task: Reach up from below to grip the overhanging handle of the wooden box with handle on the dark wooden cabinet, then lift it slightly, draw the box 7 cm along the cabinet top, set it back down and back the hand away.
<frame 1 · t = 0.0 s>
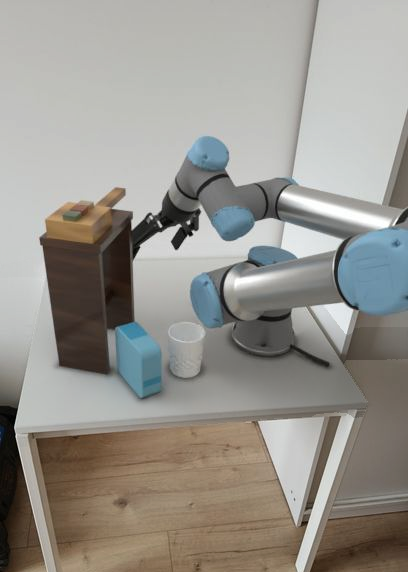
hand: (152, 251, 126), 15 cm above the table, tool tilted 35°, fingers open, 13 cm apart
dark wooden cabinet: (99, 346, 117), on the table
white cup: (185, 369, 112), on the table
wooden box with handle: (85, 226, 99), point 30 cm above the table, touching dark wooden cabinet
data package: (138, 382, 108), on the table
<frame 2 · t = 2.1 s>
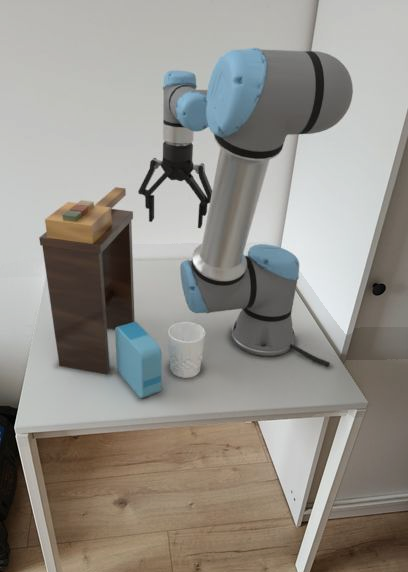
hand: (175, 223, 137), 17 cm above the table, tool pointing down, fingers open, 13 cm apart
nothing on the table moved.
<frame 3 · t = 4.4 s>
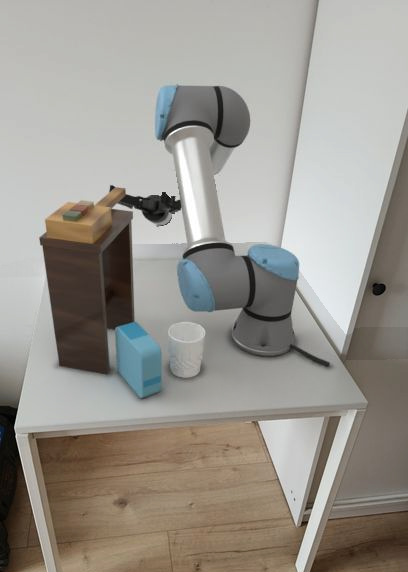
hand: (136, 193, 126), 27 cm above the table, tool pointing upward, fingers open, 13 cm apart
nothing on the table moved.
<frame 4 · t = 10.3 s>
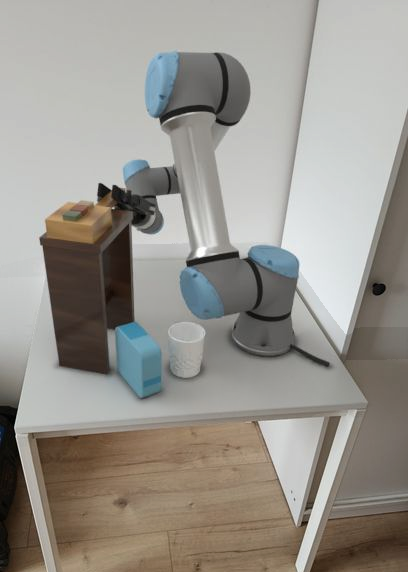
hand: (106, 190, 106), 34 cm above the table, tool pointing upward, fingers closed on wooden box with handle, 2 cm apart
wooden box with handle: (85, 226, 99), point 30 cm above the table, touching gripper, dark wooden cabinet
everything else where it was.
when the fingers open (34 cm above the table, at t = 15.0 s): wooden box with handle stays where it is, resting on dark wooden cabinet.
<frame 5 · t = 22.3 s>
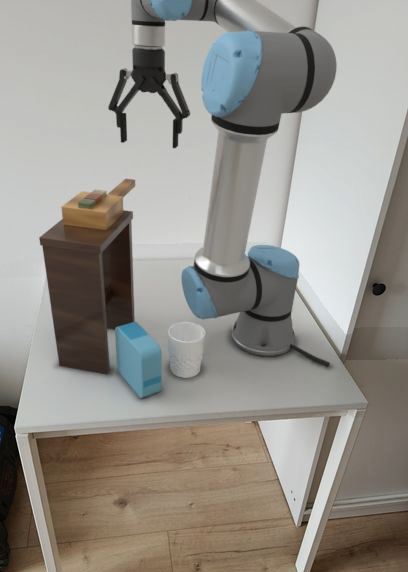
hand: (149, 144, 128), 37 cm above the table, tool pointing down, fingers open, 13 cm apart
wooden box with handle: (98, 214, 104), point 30 cm above the table, touching dark wooden cabinet
everything else where it was.
at the end: wooden box with handle 0.0 cm from the target spot, point 30.0 cm above the table; wooden box with handle tilted 0°; the gripper is holding nothing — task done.
